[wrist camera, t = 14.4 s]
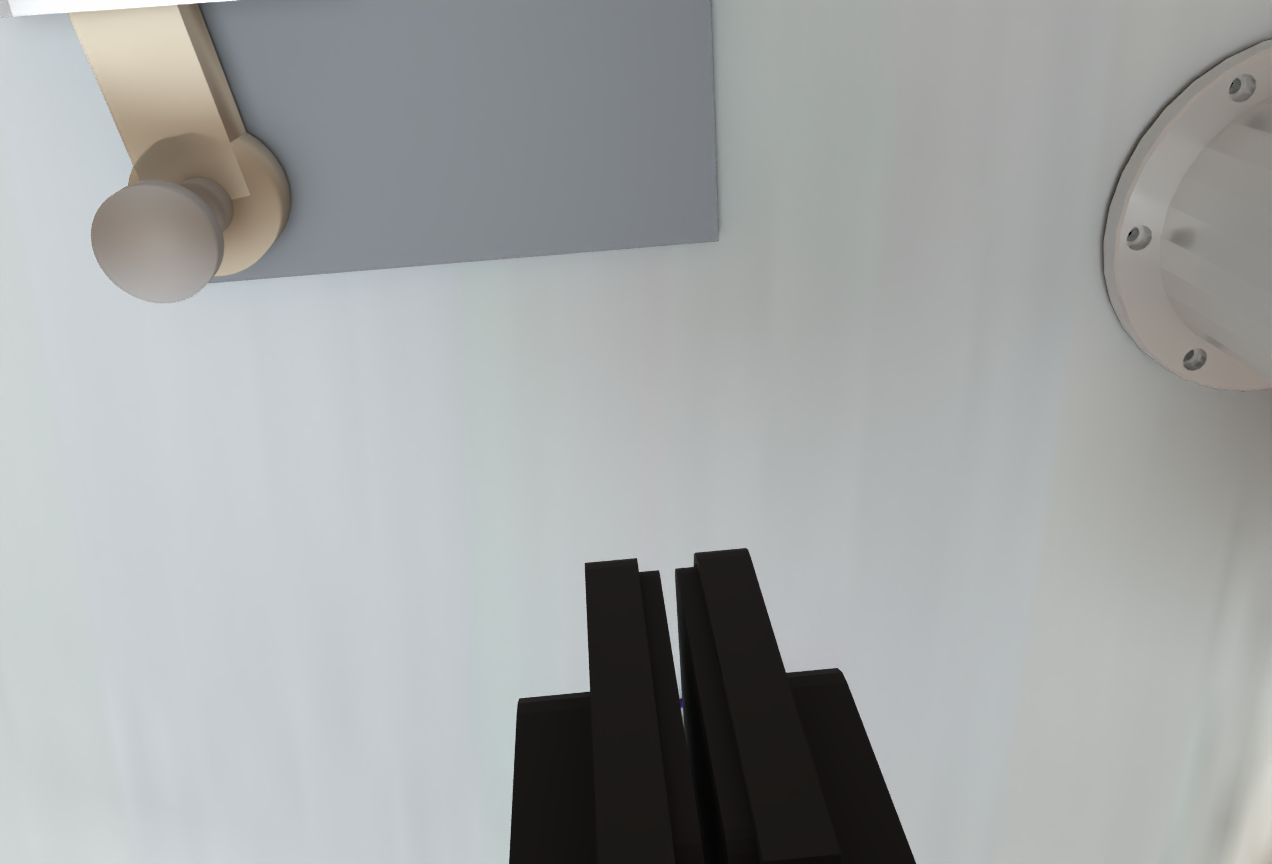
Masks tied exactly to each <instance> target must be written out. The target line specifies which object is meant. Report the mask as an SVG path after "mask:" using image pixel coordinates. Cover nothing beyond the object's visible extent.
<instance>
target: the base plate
mask: <svg viewBox="0 0 1272 864" xmlns="http://www.w3.org/2000/svg"><path fill="white" fill-rule="evenodd" d="M197 4H198V6H199V9H200V12H201V14H202V17H203V20H204V22H205V25H206V28H207V30H208V33H209V35H210V38H211V41H212V43H213V46H214V49H215V51H216V54H217V57H218V59H219V62H220V65H221V67H222V70H223V72H224V75H225V78H226V80H227V83H228V86H229V88H230V91H231V94H232V96H233V99H234V102H235V104H236V107H237V109H238V112H239V115H240V117H241V120H242V123H243V125H244V128H245V131H246V132H247V133H249V134H250V135H252V136H253V137H255V138H257V139H258V140H259V141H260V142H261V143H263V144H264V145H265V146H266V147H267V148H268V149H269V150H270V151H271V152H272V154H273V155H274V156H275V158H276V159H277V160H278V162H279V164H280V165H281V167H282V169H283V171H284V173H285V176H286V178H287V182H288V185H289V190H290V202H291V204H290V213H289V217H288V221H287V223H286V226H285V228H284V230H283V231H282V233H281V235H280V236H279V237H278V239H277V240H276V241H275V242H274V243H273V244H272V246H271V247H270V248H269V249H268V250H267V251H266V252H265V254H264V255H263V256H262V257H261V258H260V259H259V260H258V261H257V262H255V263H254V264H253V265H251V266H250V267H248V268H246V269H244V270H242V271H240V272H237V273H234V274H230V275H225V276H214V277H213V278H212V279H211V280H210V281H209V282H208V283H217V282H230V281H242V280H254V279H266V278H278V277H290V276H302V275H314V274H327V273H339V272H351V271H363V270H375V269H387V268H399V267H411V266H423V265H436V264H448V263H460V262H472V261H484V260H496V259H508V258H520V257H533V256H545V255H557V254H569V253H581V252H593V251H605V250H617V249H629V248H642V247H654V246H666V245H678V244H690V243H702V242H714V241H719V238H718V207H717V176H716V145H715V114H714V83H713V52H712V21H711V0H230V1H217V2H203V3H197Z"/></svg>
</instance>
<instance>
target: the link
mask: <svg viewBox="0 0 1272 864" xmlns="http://www.w3.org/2000/svg"><path fill="white" fill-rule="evenodd" d="M68 15H69V17H70V20H71V22H72V24H73V27H74V29H75V31H76V34H77V36H78V38H79V41H80V43H81V45H82V48H83V50H84V52H85V54H86V57H87V59H88V61H89V64H90V66H91V68H92V71H93V73H94V75H95V78H96V80H97V82H98V85H99V87H100V89H101V92H102V94H103V96H104V99H105V101H106V103H107V106H108V108H109V110H110V113H111V115H112V117H113V120H114V122H115V124H116V126H117V129H118V131H119V133H120V136H121V138H122V140H123V143H124V145H125V147H126V150H127V152H128V154H129V157H130V159H131V161H132V164H133V166H134V167H133V169H132V172H131V175H130V178H129V183H128V186H126V187H125V188H123V189H121V190H120V191H118V192H116V193H115V194H113V195H112V196H110V197H109V198H108V199H107V200H106V201H105V202H104V203H103V204H102V205H101V206H100V208H99V209H98V211H97V213H96V215H95V217H94V220H93V223H92V229H91V241H92V247H93V251H94V254H95V257H96V259H97V261H98V263H99V265H100V267H101V268H102V270H103V271H104V273H105V274H106V275H107V276H108V278H109V279H110V280H111V281H112V282H113V283H114V284H115V285H117V286H118V287H119V288H121V289H122V290H123V291H125V292H127V293H128V294H130V295H132V296H134V297H136V298H139V299H142V300H145V301H148V302H154V303H174V302H179V301H182V300H185V299H188V298H190V297H192V296H193V295H195V294H196V293H198V292H199V291H200V290H201V289H202V288H203V287H204V286H205V285H206V284H207V283H208V282H209V281H210V280H211V279H212V278H213V277H214V276H225V275H230V274H234V273H237V272H240V271H242V270H244V269H246V268H248V267H250V266H251V265H253V264H254V263H255V262H257V261H258V260H259V259H260V258H261V257H262V256H263V255H264V254H265V252H266V251H267V250H268V249H269V248H270V247H271V246H272V244H273V243H274V242H275V241H276V240H277V239H278V237H279V236H280V235H281V233H282V231H283V230H284V228H285V226H286V223H287V221H288V217H289V213H290V204H291V202H290V190H289V185H288V182H287V178H286V176H285V173H284V171H283V169H282V167H281V165H280V164H279V162H278V160H277V159H276V158H275V156H274V155H273V154H272V152H271V151H270V150H269V149H268V148H267V147H266V146H265V145H264V144H263V143H261V142H260V141H259V140H258V139H257V138H255V137H253V136H252V135H250V134H249V133H247V132H246V131H245V128H244V125H243V123H242V120H241V117H240V115H239V112H238V109H237V107H236V104H235V102H234V99H233V96H232V94H231V91H230V88H229V86H228V83H227V80H226V78H225V75H224V72H223V70H222V67H221V65H220V62H219V59H218V57H217V54H216V51H215V49H214V46H213V43H212V41H211V38H210V35H209V33H208V30H207V28H206V25H205V22H204V20H203V17H202V14H201V12H200V9H199V6H198V4H197V3H190V4H176V5H163V6H149V7H136V8H122V9H109V10H95V11H82V12H68Z"/></svg>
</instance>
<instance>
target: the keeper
mask: <svg viewBox="0 0 1272 864" xmlns="http://www.w3.org/2000/svg"><path fill="white" fill-rule="evenodd" d="M217 1H230V0H0V18H1V17H15V16H28V15H42V14H55V13H68V12H82V11H95V10H109V9H122V8H136V7H149V6H163V5H176V4H190V3H203V2H217Z"/></svg>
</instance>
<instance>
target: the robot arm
mask: <svg viewBox="0 0 1272 864" xmlns="http://www.w3.org/2000/svg"><path fill="white" fill-rule="evenodd" d="M1232 82H1233V85H1232V88H1231V89H1230V90H1229V88H1230V86H1231V84H1232ZM1132 229H1133V231H1132V234H1131V235H1130V236H1129V237H1128V234H1129V232H1130V231H1131V230H1132ZM1104 275H1105V280H1106V284H1107V288H1108V293H1109V297H1110V301H1111V304H1112V306H1113V308H1114V310H1115V312H1116V314H1117V316H1118V318H1119V321H1120V323H1121V325H1122V327H1123V328H1124V330H1125V331H1126V332H1127V333H1128V335H1129V336H1130V337H1131V338H1132V339H1133V341H1134V342H1135V343H1136V344H1137V345H1138V347H1139V348H1140V349H1141V350H1142V351H1144V352H1145V353H1146V354H1148V355H1149V356H1150V357H1151V358H1153V359H1154V360H1155V361H1156V362H1158V363H1159V364H1160V365H1161V366H1163V367H1164V368H1166V369H1168V370H1169V371H1171V372H1173V373H1174V374H1176V375H1177V376H1179V377H1181V378H1183V379H1185V380H1188V381H1191V382H1194V383H1198V384H1201V385H1204V386H1207V387H1211V388H1215V389H1225V390H1236V391H1252V390H1263V389H1272V39H1271V40H1267V41H1263V42H1261V43H1259V44H1257V45H1255V46H1253V47H1250V48H1248V49H1246V50H1244V51H1242V52H1240V53H1238V54H1236V55H1234V56H1231V57H1229V58H1227V59H1226V60H1224V61H1223V62H1222V63H1220V64H1219V65H1217V66H1216V67H1214V68H1213V69H1211V70H1210V71H1208V72H1207V73H1206V74H1204V75H1203V76H1201V77H1200V78H1198V79H1197V80H1195V81H1194V82H1193V83H1192V84H1191V85H1190V86H1189V87H1188V88H1187V89H1186V90H1184V91H1183V92H1182V93H1181V94H1180V95H1179V96H1178V97H1177V98H1176V99H1175V100H1174V101H1173V102H1172V103H1171V104H1170V105H1169V106H1168V107H1166V108H1165V110H1164V111H1163V112H1162V113H1161V115H1160V116H1159V117H1158V118H1157V120H1156V121H1155V122H1154V124H1153V125H1152V126H1151V127H1150V129H1149V130H1148V131H1147V133H1146V134H1145V135H1144V136H1143V138H1142V139H1141V140H1140V142H1139V144H1138V146H1137V147H1136V149H1135V151H1134V153H1133V155H1132V156H1131V158H1130V160H1129V162H1128V164H1127V165H1126V167H1125V169H1124V171H1123V172H1122V175H1121V177H1120V180H1119V183H1118V186H1117V188H1116V191H1115V194H1114V197H1113V199H1112V202H1111V205H1110V208H1109V213H1108V219H1107V225H1106V231H1105V236H1104ZM585 581H586V604H587V628H588V651H589V674H590V692H582V693H572V694H562V695H551V696H541V697H530V698H520V699H519V701H518V707H517V720H516V740H515V760H514V779H513V799H512V819H511V839H510V858H509V864H916V862H915V860H914V857H913V854H912V852H911V849H910V846H909V844H908V841H907V839H906V836H905V833H904V831H903V828H902V825H901V823H900V820H899V818H898V815H897V812H896V810H895V807H894V804H893V802H892V799H891V797H890V794H889V791H888V789H887V786H886V783H885V781H884V778H883V776H882V773H881V770H880V768H879V765H878V762H877V760H876V757H875V755H874V752H873V749H872V747H871V744H870V741H869V739H868V736H867V734H866V731H865V728H864V726H863V723H862V720H861V718H860V715H859V713H858V710H857V707H856V705H855V702H854V699H853V697H852V694H851V692H850V689H849V686H848V684H847V681H846V679H845V677H844V675H843V673H842V672H841V671H840V670H839V669H838V668H833V669H823V670H812V671H802V672H791V673H786V672H785V668H784V665H783V662H782V659H781V655H780V652H779V649H778V645H777V642H776V639H775V636H774V632H773V629H772V626H771V622H770V619H769V616H768V613H767V609H766V606H765V603H764V599H763V596H762V593H761V590H760V586H759V583H758V580H757V577H756V573H755V570H754V567H753V563H752V560H751V557H750V554H749V551H748V549H746V548H743V549H732V550H721V551H710V552H699V553H695V554H694V567H689V568H678V569H675V582H676V599H677V616H678V633H679V650H680V667H681V685H682V702H683V719H684V725H683V719H682V712H681V706H680V700H679V693H678V687H677V681H676V674H675V668H674V662H673V655H672V649H671V643H670V636H669V630H668V624H667V617H666V611H665V605H664V598H663V592H662V585H661V579H660V573H659V570H657V571H646V572H639V570H638V562H637V558H634V559H623V560H612V561H601V562H590V563H585Z"/></svg>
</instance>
